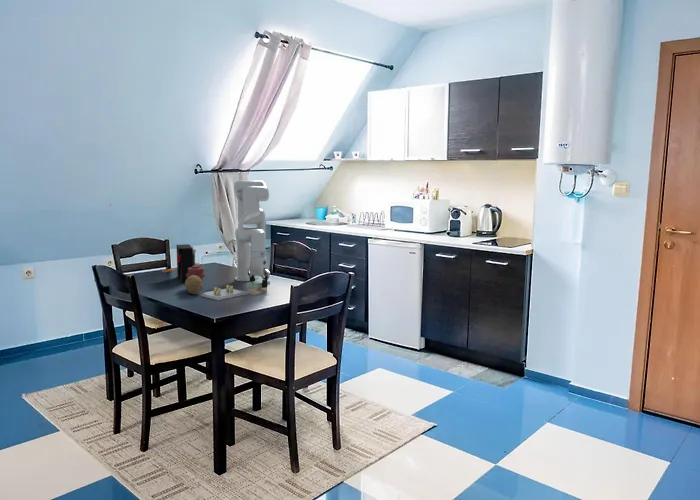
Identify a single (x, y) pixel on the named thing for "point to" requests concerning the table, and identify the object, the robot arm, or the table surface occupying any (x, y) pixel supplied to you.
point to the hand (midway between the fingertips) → (258, 286)
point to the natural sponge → (193, 284)
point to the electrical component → (184, 260)
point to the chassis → (223, 293)
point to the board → (256, 284)
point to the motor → (195, 265)
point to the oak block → (257, 290)
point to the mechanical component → (196, 272)
